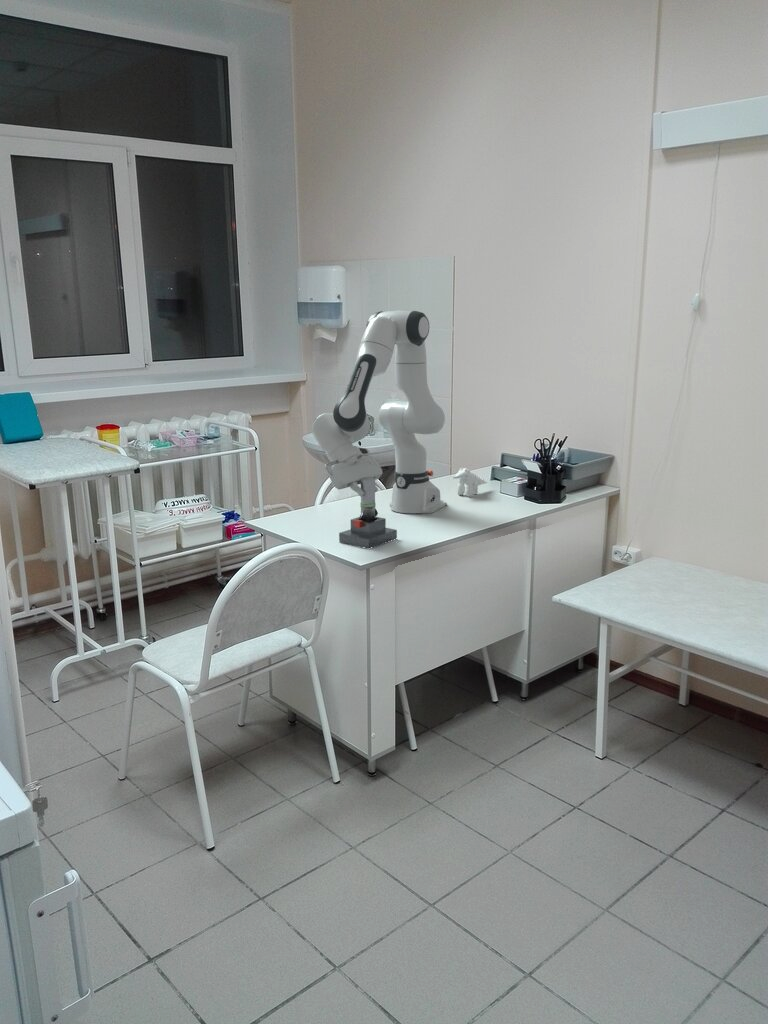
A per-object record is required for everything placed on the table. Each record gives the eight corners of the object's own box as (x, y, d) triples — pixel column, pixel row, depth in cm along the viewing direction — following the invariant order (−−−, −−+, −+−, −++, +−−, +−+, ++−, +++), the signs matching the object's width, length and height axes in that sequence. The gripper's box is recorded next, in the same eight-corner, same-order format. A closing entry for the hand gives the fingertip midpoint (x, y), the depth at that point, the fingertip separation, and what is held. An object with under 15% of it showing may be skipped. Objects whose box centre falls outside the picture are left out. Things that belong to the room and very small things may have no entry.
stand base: (367, 532, 267) (367, 510, 265) (396, 538, 259) (396, 516, 258) (339, 542, 256) (338, 518, 254) (368, 548, 249) (368, 525, 247)
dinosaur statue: (444, 496, 313) (446, 467, 311) (479, 492, 331) (482, 465, 329) (459, 499, 309) (461, 470, 307) (493, 494, 327) (496, 467, 325)
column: (367, 519, 259) (366, 476, 256) (378, 521, 257) (378, 478, 253) (357, 522, 256) (357, 478, 252) (369, 524, 253) (368, 480, 250)
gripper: (328, 457, 247) (352, 493, 244) (371, 448, 263) (395, 481, 259) (317, 470, 251) (342, 505, 248) (360, 460, 267) (384, 493, 263)
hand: (369, 493), depth 254 cm, fingers open, 4 cm apart
